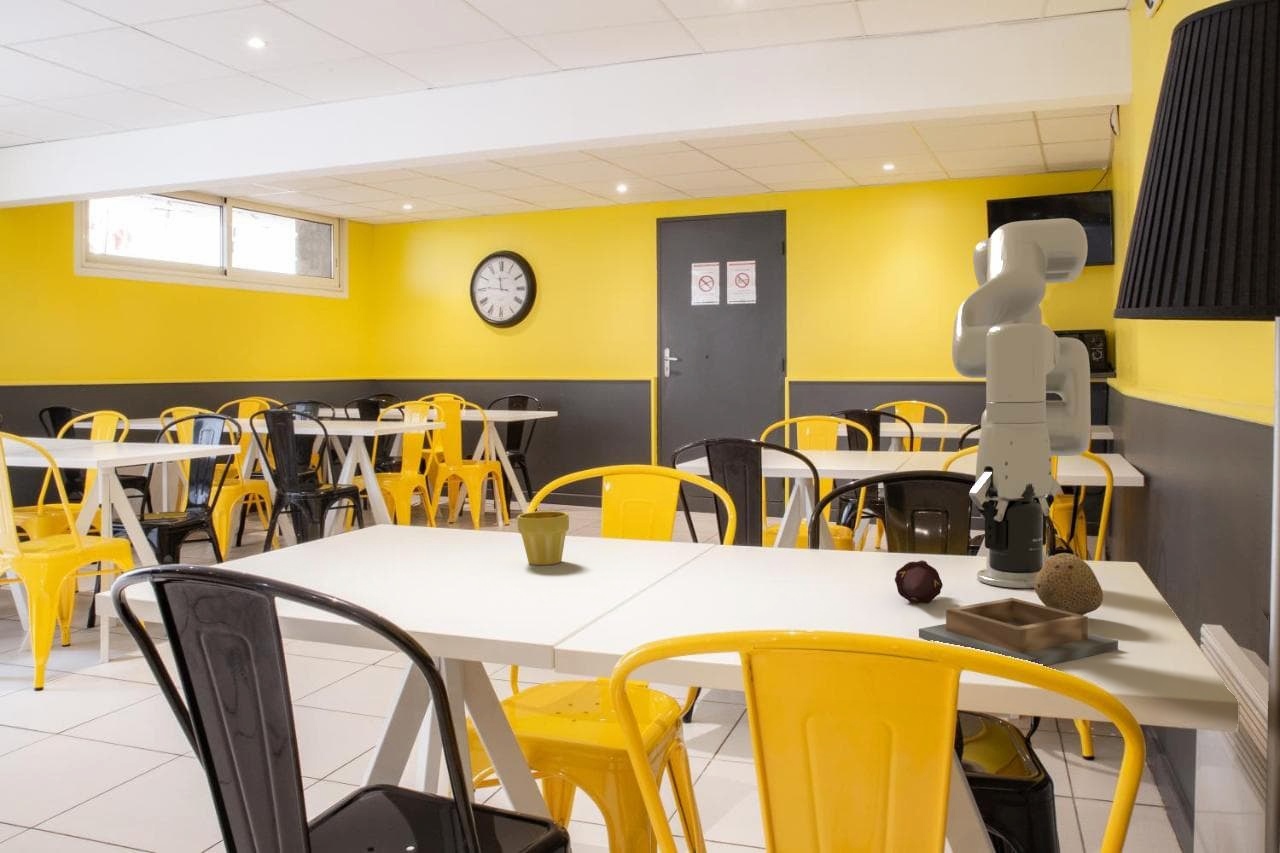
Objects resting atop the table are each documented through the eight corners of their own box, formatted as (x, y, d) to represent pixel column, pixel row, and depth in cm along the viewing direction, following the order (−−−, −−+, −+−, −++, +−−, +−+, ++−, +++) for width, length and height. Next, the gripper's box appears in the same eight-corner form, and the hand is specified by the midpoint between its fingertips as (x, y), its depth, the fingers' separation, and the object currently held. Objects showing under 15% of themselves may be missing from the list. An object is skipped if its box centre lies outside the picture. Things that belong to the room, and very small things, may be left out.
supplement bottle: (1047, 575, 129) (1047, 484, 128) (993, 574, 130) (993, 484, 130) (1037, 565, 136) (1037, 479, 135) (985, 564, 137) (985, 478, 136)
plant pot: (509, 566, 194) (507, 517, 194) (533, 556, 204) (531, 509, 203) (556, 568, 191) (554, 519, 190) (578, 558, 200) (577, 511, 200)
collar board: (1010, 619, 146) (1010, 592, 145) (1117, 649, 130) (1118, 618, 129) (918, 637, 138) (918, 607, 137) (1021, 671, 122) (1021, 637, 121)
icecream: (947, 573, 149) (947, 563, 164) (899, 559, 151) (902, 550, 166) (935, 617, 150) (936, 602, 164) (887, 602, 152) (892, 589, 166)
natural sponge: (1022, 613, 149) (1022, 548, 149) (1077, 610, 150) (1078, 546, 150) (1052, 628, 140) (1052, 560, 140) (1111, 626, 141) (1112, 557, 141)
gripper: (1038, 412, 139) (1038, 536, 140) (947, 417, 131) (947, 548, 132) (1083, 414, 132) (1082, 544, 133) (990, 418, 125) (990, 557, 125)
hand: (1015, 545), depth 133 cm, fingers closed on supplement bottle, 6 cm apart
